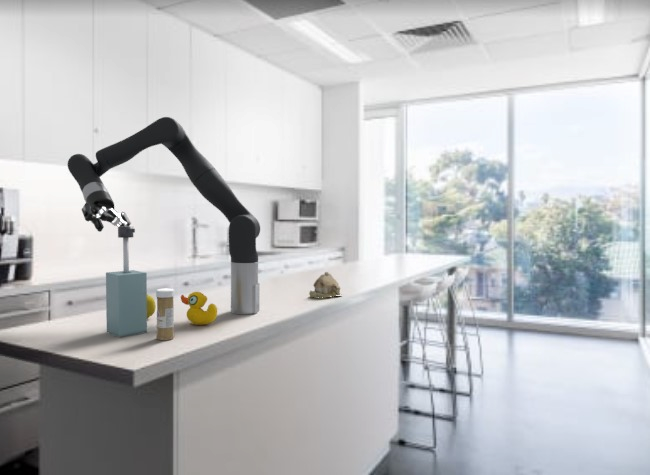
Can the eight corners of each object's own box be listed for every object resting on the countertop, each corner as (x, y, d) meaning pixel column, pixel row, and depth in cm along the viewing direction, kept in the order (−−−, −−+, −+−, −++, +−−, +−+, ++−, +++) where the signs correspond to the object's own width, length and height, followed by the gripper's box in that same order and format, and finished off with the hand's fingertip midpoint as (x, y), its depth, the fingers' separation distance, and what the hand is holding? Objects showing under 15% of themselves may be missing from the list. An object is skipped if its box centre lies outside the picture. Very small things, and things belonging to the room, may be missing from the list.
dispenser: (106, 332, 140) (105, 272, 139) (134, 327, 146) (133, 270, 145) (119, 337, 135) (118, 275, 134) (146, 332, 140) (146, 272, 139)
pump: (116, 277, 139) (115, 226, 138) (129, 276, 142) (129, 226, 141) (126, 280, 135) (125, 227, 134) (140, 279, 138) (140, 226, 137)
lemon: (159, 318, 159) (159, 293, 159) (147, 321, 154) (147, 296, 153) (145, 316, 161) (144, 292, 160) (133, 320, 156) (132, 294, 155)
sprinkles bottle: (153, 338, 134) (152, 289, 133) (168, 335, 137) (167, 287, 137) (162, 341, 131) (162, 291, 130) (177, 338, 134) (177, 289, 134)
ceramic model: (324, 292, 212) (324, 269, 211) (346, 295, 205) (347, 271, 205) (304, 297, 200) (304, 272, 200) (327, 300, 194) (327, 275, 193)
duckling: (177, 325, 149) (177, 292, 148) (184, 321, 154) (184, 289, 154) (213, 327, 147) (213, 294, 147) (219, 323, 153) (219, 291, 152)
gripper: (82, 184, 153) (98, 218, 145) (123, 195, 165) (140, 227, 156) (70, 202, 155) (86, 237, 147) (112, 212, 167) (128, 244, 159)
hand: (114, 232), depth 152 cm, fingers open, 8 cm apart
